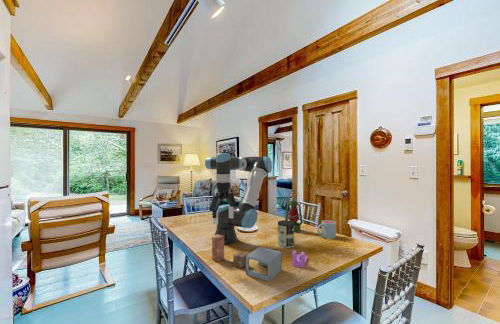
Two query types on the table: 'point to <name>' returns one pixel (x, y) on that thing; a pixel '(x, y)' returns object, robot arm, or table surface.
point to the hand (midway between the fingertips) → (223, 220)
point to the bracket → (298, 259)
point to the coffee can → (286, 234)
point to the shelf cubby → (265, 262)
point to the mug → (328, 229)
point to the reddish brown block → (218, 252)
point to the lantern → (294, 213)
